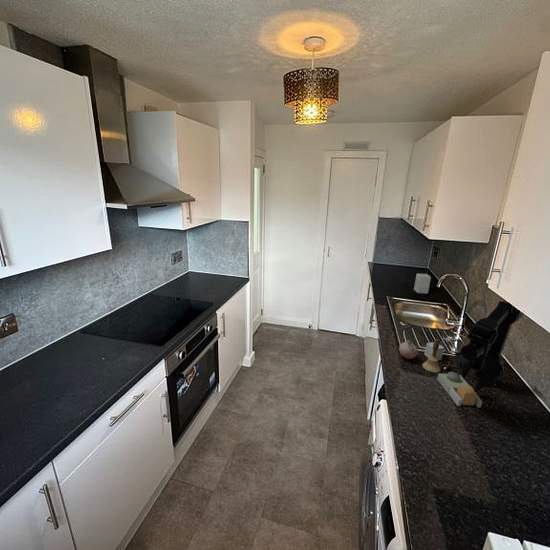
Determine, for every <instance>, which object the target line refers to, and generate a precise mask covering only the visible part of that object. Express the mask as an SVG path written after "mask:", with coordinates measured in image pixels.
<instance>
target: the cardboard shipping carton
mask: <svg viewBox="0 0 550 550" xmlns="http://www.w3.org/2000/svg"><path fill="white" fill-rule="evenodd" d="M457 394H458V395H459V397H460V398H461V399H462V403H461V406H474V405H475V404H474V403H475V400H476V397H477V396H478V392H474V387H472V386H471V385H469V386H464V385H459V386H458V389H457Z"/></svg>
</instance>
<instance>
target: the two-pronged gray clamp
mask: <svg viewBox="0 0 550 550" xmlns="http://www.w3.org/2000/svg"><path fill="white" fill-rule="evenodd" d="M436 380H438V382H439V383H440V384H441V386H442V387H443V389H444V390H445V391H446V393H447V394H448V395H449V396H450V397H451V399H452V400H453V402H454V403H455V404H456V406H457V407H461V406H462V404H461V403H462V399H461V398H460V397H459V395H458V394H457V389H458V386H459V385H464V386H470V384H469V383H468V382H467V381H466V380H465V378H462V374H459V373H457V372H454V371H448V372H447V373H440V372H438V374H437V378H436ZM482 404H483V400H482V399H481V398H480V397H479V395H477V397H476V400H475V403H474V405H475V406H476V407H477V408H480V409H481V408H482Z"/></svg>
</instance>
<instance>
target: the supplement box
mask: <svg viewBox="0 0 550 550" xmlns="http://www.w3.org/2000/svg"><path fill="white" fill-rule="evenodd" d="M431 279H432V277H431V275H429V274H428V273H416V275H415V280H414V287H413V291H415V292H416V293H417V294H426V295H427V294H428V295H429V290H430V283H431Z"/></svg>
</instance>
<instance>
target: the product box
mask: <svg viewBox="0 0 550 550" xmlns="http://www.w3.org/2000/svg"><path fill="white" fill-rule="evenodd" d="M433 343H434V342H426V346H425V350H424V354H423V355H424V356H426V358H428V357H429V356H432V353H433ZM444 351H445V347H444V346H443V345H441V344H439V348H438V350H437V352H436V358H437V359H438V361H441V360H442V359H443V356H444Z"/></svg>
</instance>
